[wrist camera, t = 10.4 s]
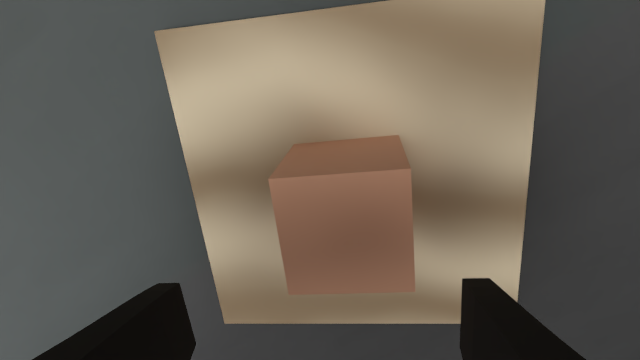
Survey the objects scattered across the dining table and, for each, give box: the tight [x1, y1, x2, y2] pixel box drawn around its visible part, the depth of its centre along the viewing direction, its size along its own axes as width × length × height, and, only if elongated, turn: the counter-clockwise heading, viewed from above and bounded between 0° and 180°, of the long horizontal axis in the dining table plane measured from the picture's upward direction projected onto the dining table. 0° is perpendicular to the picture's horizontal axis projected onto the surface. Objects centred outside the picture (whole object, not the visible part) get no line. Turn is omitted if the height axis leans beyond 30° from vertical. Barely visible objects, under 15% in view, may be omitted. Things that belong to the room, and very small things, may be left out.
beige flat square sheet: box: [154, 0, 545, 324], centre depth 17 cm, size 15×15×1 cm
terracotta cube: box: [268, 135, 415, 295], centre depth 14 cm, size 4×4×4 cm
